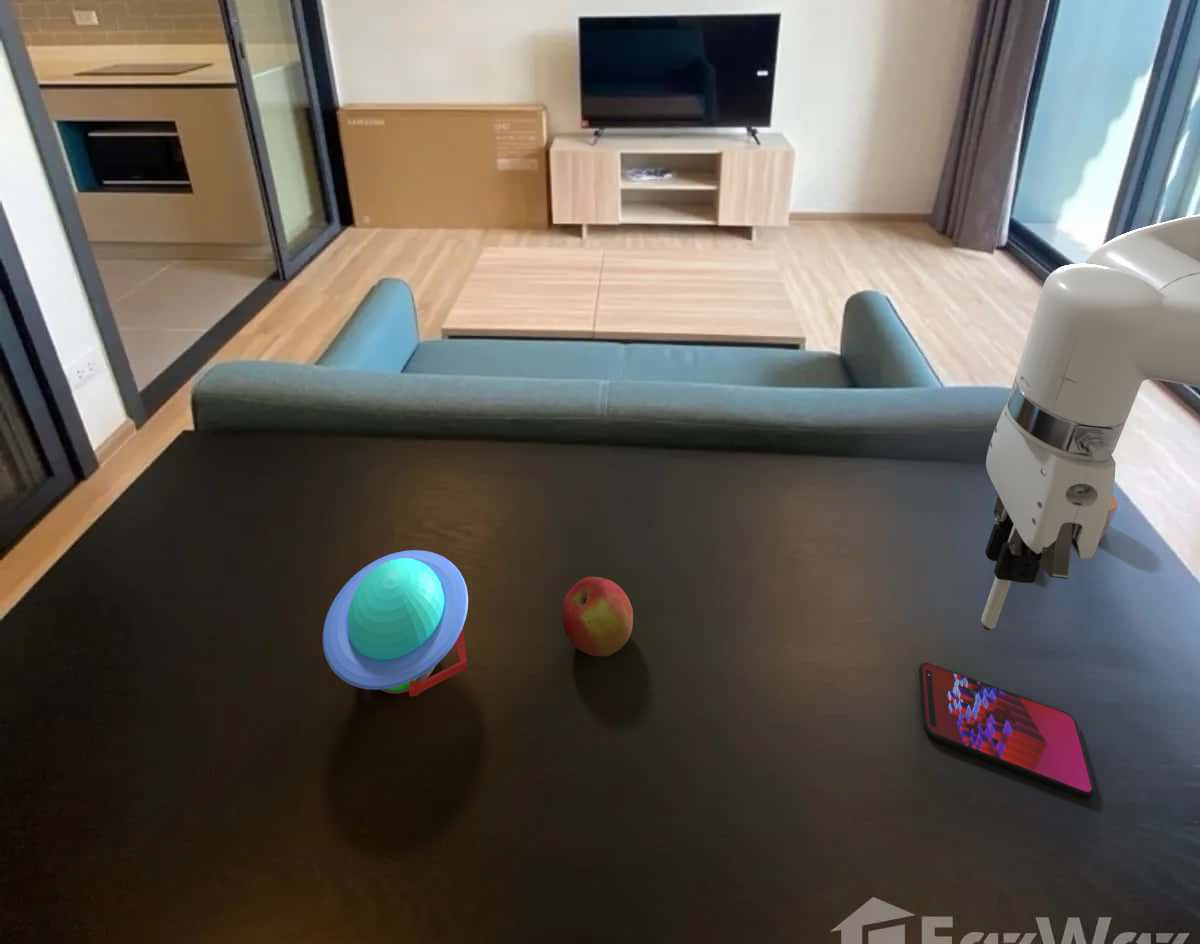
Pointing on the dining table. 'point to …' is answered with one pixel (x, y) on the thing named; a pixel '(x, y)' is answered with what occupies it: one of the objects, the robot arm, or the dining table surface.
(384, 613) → the teal dome on disc
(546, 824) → the dining table surface
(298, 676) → the dining table surface
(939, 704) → the smartphone
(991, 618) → the stylus
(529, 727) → the dining table surface
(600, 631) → the apple
